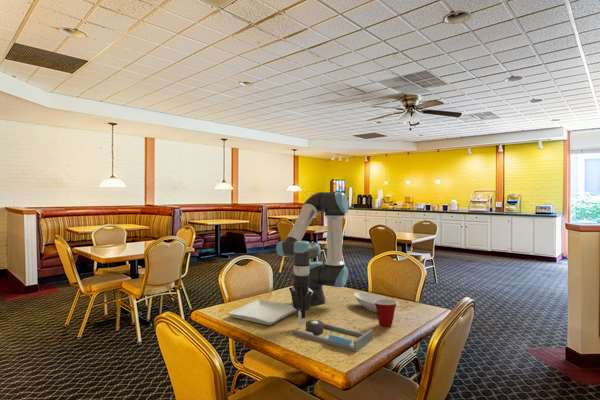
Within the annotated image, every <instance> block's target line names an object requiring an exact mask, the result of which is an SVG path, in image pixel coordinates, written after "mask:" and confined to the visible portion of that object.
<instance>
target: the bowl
mask: <svg viewBox="0 0 600 400" xmlns="http://www.w3.org/2000/svg"><path fill="white" fill-rule="evenodd" d="M353 295H354V296H353V297H354V298H355V299H356V300H357V302H358V303H359V304H360V305H361V306H363V307H364V308H365V309H366V310H368V311H371V312H374V313H376V314H377V308H376V305H375V303H374V301H375V300H379V299H389V300H393V299H391V298H389V297H387V296H383V295H380V294H374V293H372V292H371V293H370V292H360V291H359V292H355V293H354V294H353ZM398 306H399V303H398V302H397V303H396V307H395V309H396V308H397V307H398Z"/></svg>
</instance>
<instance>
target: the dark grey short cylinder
mask: <svg viewBox="0 0 600 400" xmlns="http://www.w3.org/2000/svg"><path fill="white" fill-rule="evenodd" d="M323 323H324V322H323V321H322V320H319V319H310V320H306V321H305V331H307V332H311V333H313V335H315V336H320V335H322V334H323V333H324V327H323Z"/></svg>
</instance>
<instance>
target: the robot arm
mask: <svg viewBox="0 0 600 400" xmlns="http://www.w3.org/2000/svg"><path fill="white" fill-rule="evenodd" d="M348 212H349V198H348V197H347V195H346V193H344V192H339V191H333V192H331V191H326V192H325V191H324V192H323V191H320V192H316V193H314V194H311V196H309V197H308V198H307V199H306V200H305V201H304V203H303V204H302V206H301V212H300V213H299V214H298V217H297V218H296V221H295V222H294V224H293V225H292V227H291V229H290V230H289V233H288V234H287V236H286V237H285V240H282V241H281V240H280V241H279V242H278V243H277V244H276V246H275V247H276V254H277V256H281V257H288V258H293V286H291V287H289V292H290V294H291V295H290V297H291V301H292V305H293V308H294V309H296V317H297V325H298V326H303V325H305V318H306V311H309V310H310V306H316V305H317V306H319V305H323V304H325V303H326V296H325V294H324V289H323V286H326V287H333V288H343V287H345V286H346V284H347V281H348V278H349V268H348V267H347V266H345V265H346V264H345V263H346V262H344V260H343V218H345V216H346V214H347V213H348ZM318 213H324V216H325V219H326V225H327V227H326V233H327V234H326V261H325V262H323V261H312V262H311V261H310V260H312V259H316V258H318V257H319V256H320V255H321V253H322V249H321V246H320V244H319V243H317V242H310V241H307V240H302V239H303V238H304V236H305V233H306V232H307V230H308V229H309V227H310V224H311V222H312V221H313V219H314V217H316V216H317V215H318ZM323 263H324V264H323Z"/></svg>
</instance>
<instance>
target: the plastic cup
mask: <svg viewBox="0 0 600 400" xmlns="http://www.w3.org/2000/svg"><path fill="white" fill-rule="evenodd" d="M389 299H390V298H389ZM389 299H379V300H375V301H374V303H375V305H376V308H377V313H376V314H377V320H378V324H379V327H381V328H386V329H387V328H388V329H389V328H392V326H393V322H394V321H393V320H394V315H395V311H396V308H397V307H396V303H398V302H397V300H393V299H392V300H389ZM395 307H396V308H395Z"/></svg>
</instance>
